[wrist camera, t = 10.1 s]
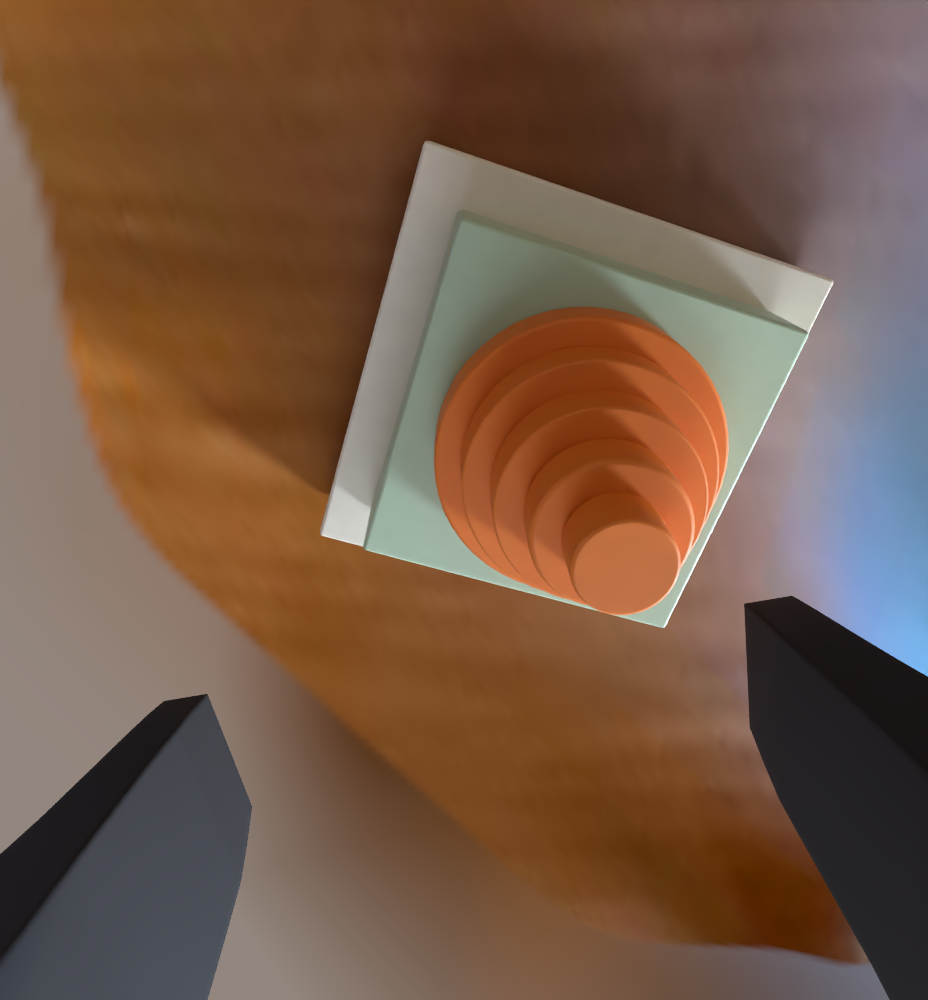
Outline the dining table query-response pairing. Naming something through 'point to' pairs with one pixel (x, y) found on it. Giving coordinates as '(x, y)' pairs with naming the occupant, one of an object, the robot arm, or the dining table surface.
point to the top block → (540, 288)
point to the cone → (582, 456)
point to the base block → (547, 212)
